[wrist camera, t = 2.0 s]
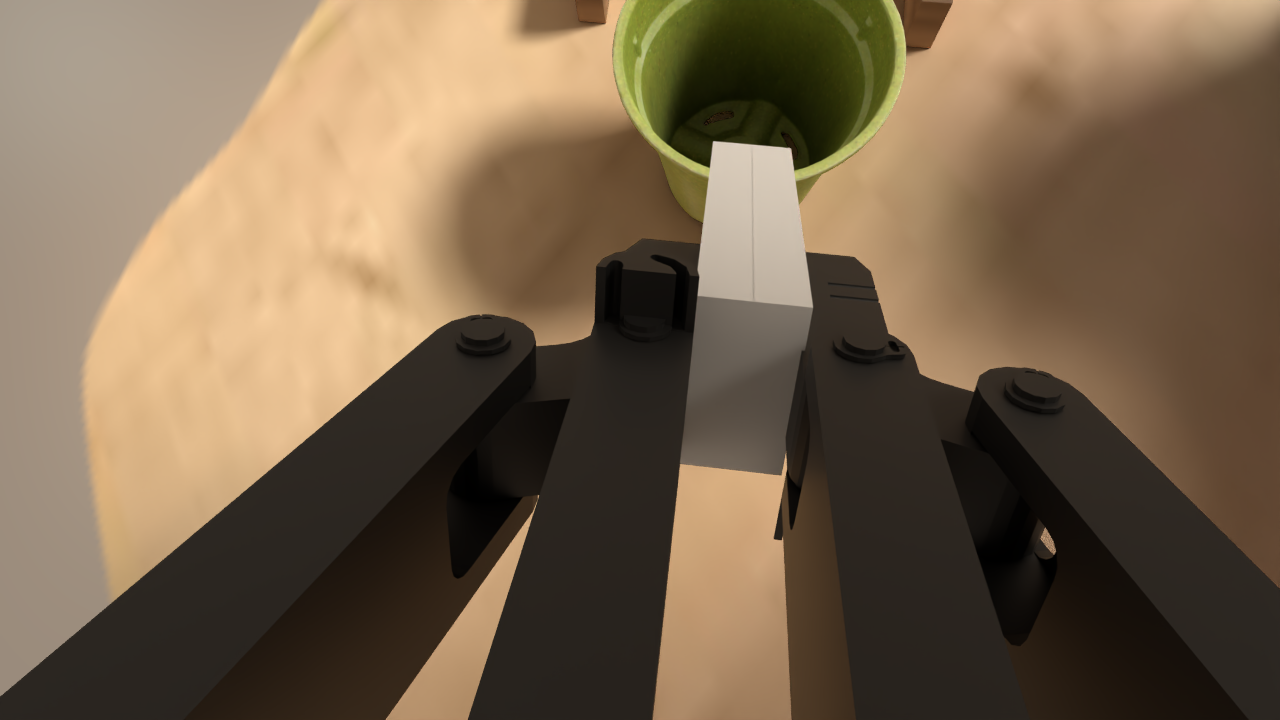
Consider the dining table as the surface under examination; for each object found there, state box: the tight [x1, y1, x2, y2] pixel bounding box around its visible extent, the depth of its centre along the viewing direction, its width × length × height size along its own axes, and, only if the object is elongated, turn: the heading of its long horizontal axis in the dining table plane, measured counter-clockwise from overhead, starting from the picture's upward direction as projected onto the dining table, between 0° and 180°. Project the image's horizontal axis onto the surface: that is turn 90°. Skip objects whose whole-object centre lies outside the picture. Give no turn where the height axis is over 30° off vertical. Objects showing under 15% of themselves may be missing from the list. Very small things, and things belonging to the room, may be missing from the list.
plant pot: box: [612, 0, 906, 223], centre depth 31 cm, size 9×9×9 cm
